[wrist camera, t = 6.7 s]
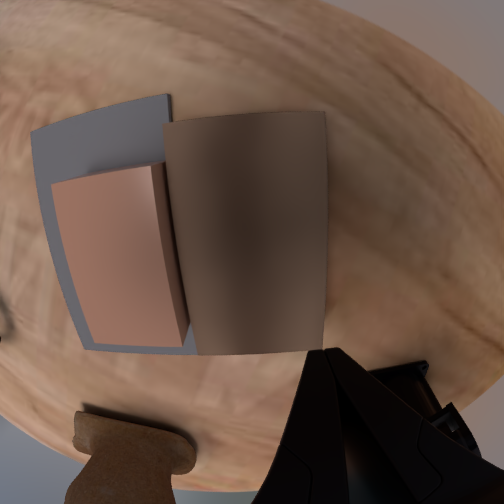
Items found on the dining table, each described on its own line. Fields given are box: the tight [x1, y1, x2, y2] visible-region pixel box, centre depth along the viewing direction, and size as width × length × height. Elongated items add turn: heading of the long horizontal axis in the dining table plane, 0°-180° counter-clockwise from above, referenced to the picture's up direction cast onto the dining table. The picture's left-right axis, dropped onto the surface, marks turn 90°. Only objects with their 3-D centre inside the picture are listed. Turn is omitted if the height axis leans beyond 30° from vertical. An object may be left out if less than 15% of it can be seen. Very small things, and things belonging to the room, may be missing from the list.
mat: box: [30, 94, 198, 355], centre depth 19 cm, size 11×18×1 cm, turn 4°
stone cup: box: [64, 411, 196, 504], centre depth 20 cm, size 15×12×15 cm
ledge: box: [162, 112, 328, 355], centre depth 17 cm, size 8×14×3 cm, turn 4°
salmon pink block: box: [51, 160, 191, 347], centre depth 16 cm, size 4×10×6 cm
